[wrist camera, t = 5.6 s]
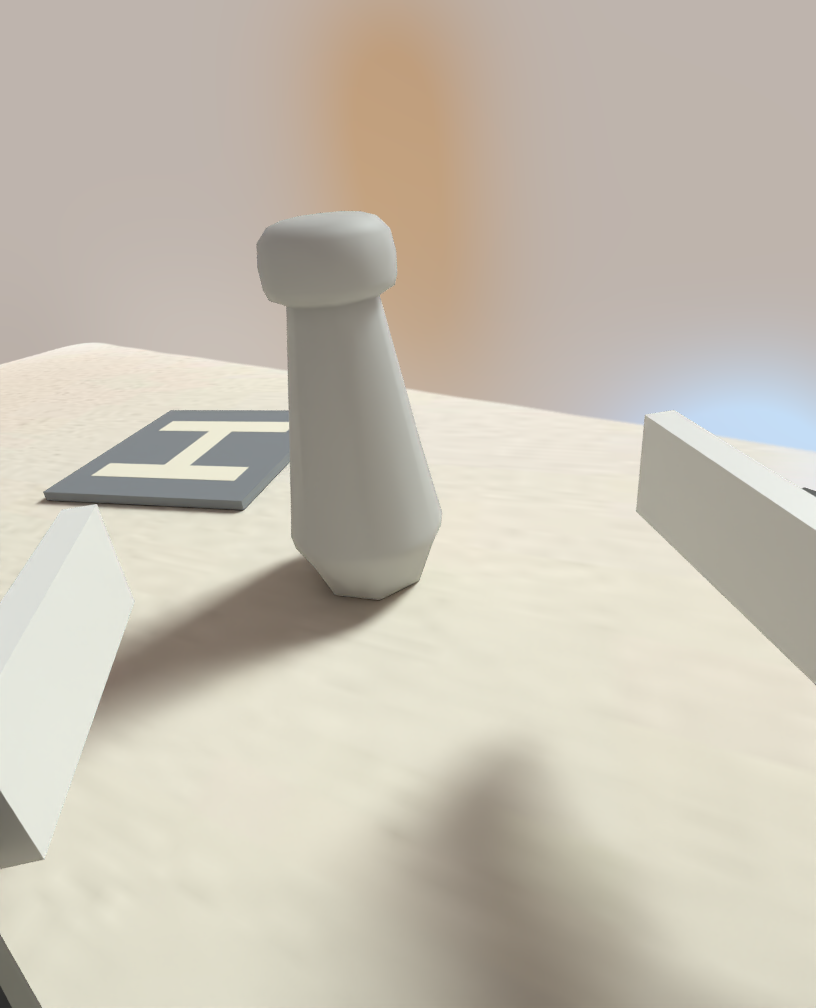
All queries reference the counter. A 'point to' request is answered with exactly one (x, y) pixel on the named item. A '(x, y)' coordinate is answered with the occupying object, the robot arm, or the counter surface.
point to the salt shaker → (348, 406)
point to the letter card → (187, 462)
